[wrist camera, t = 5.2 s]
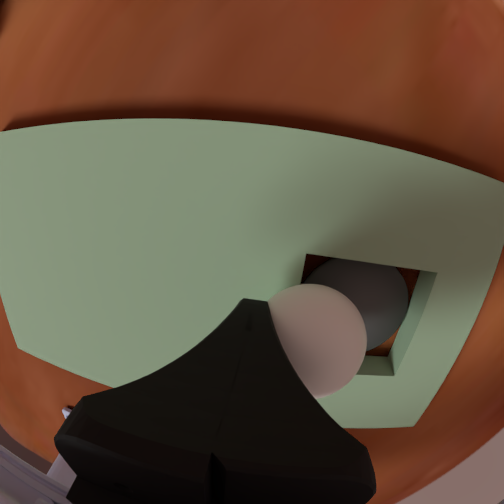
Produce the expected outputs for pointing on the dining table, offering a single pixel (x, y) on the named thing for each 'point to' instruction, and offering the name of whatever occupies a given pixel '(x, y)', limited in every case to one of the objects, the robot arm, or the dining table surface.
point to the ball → (319, 335)
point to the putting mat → (239, 246)
